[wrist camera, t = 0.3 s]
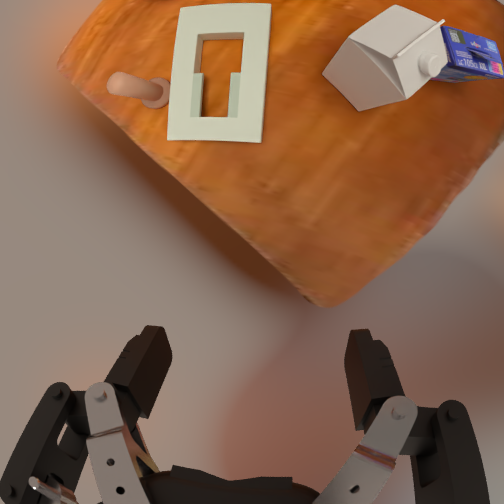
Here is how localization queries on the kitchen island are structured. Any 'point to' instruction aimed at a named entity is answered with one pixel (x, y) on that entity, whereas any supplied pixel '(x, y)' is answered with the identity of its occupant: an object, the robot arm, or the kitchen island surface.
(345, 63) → the milk carton
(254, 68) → the keyhole board
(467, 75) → the ink cartridge box
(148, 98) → the headed peg
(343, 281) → the kitchen island surface
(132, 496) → the robot arm
